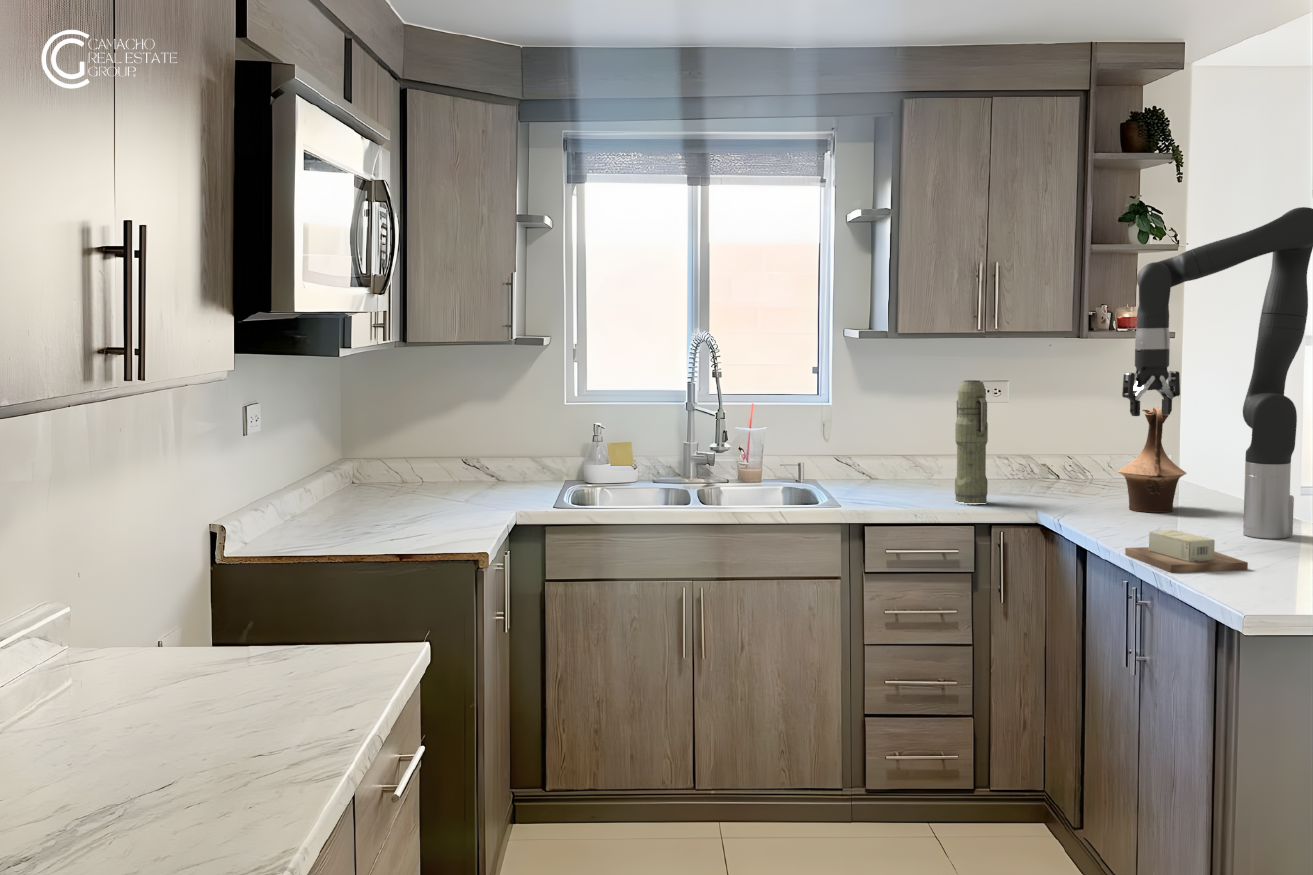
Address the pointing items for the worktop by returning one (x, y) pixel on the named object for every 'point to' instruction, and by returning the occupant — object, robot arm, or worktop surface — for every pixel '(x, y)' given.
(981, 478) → the thermos
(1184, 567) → the walnut board
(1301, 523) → the worktop surface
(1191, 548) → the skincare box
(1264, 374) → the robot arm
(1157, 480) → the pitcher
